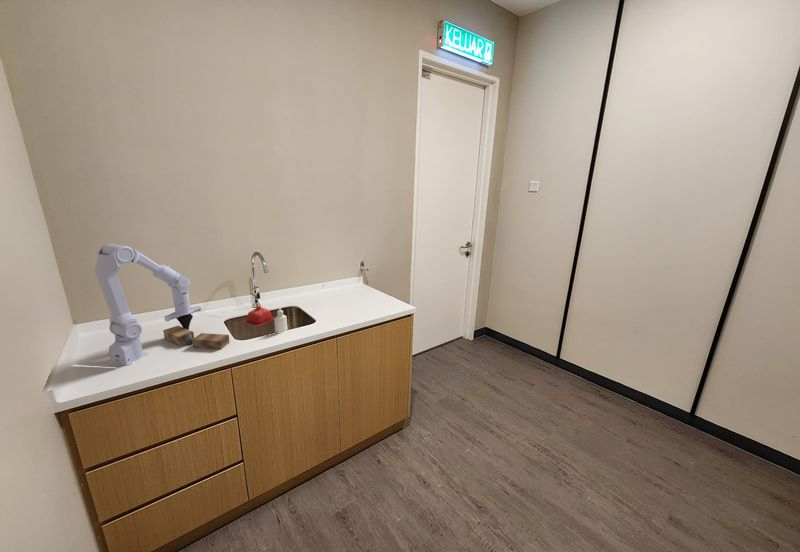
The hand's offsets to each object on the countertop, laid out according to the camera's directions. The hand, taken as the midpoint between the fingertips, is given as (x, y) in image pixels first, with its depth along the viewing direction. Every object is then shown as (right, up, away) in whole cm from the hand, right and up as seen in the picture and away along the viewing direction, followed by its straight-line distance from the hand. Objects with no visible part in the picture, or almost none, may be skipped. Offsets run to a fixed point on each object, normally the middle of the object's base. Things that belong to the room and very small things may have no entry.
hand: (186, 330), depth 147 cm
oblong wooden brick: (+16, -5, -8) cm, 18 cm away
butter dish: (+25, +1, +18) cm, 31 cm away
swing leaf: (+1, -3, -4) cm, 5 cm away
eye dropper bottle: (+40, -2, +6) cm, 40 cm away
